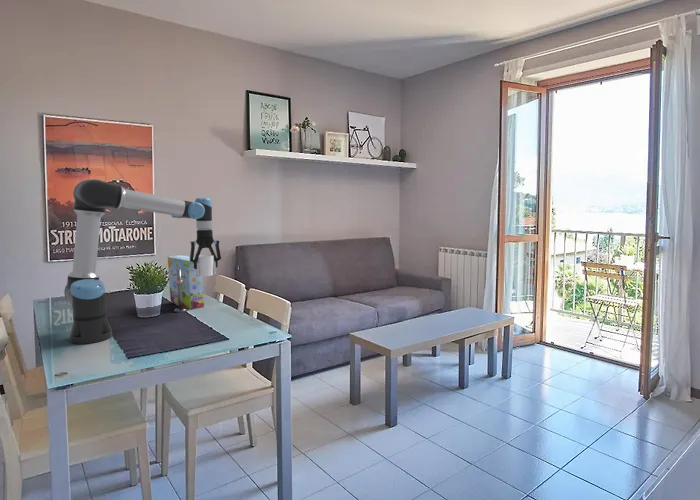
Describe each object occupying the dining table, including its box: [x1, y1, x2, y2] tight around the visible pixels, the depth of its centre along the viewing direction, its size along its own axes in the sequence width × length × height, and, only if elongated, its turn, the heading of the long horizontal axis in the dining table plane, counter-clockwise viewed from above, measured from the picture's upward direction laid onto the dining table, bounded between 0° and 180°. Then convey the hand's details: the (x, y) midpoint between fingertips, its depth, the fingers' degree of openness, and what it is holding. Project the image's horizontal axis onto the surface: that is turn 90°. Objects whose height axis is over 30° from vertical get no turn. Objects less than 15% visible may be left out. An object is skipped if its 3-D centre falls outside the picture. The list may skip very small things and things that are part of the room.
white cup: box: [198, 254, 214, 277], centre depth 226 cm, size 8×8×10 cm
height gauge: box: [174, 270, 188, 313], centre depth 226 cm, size 6×6×21 cm
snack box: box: [167, 254, 205, 310], centre depth 238 cm, size 22×9×26 cm, turn 49°
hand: (206, 274), depth 226 cm, fingers closed on white cup, 8 cm apart
